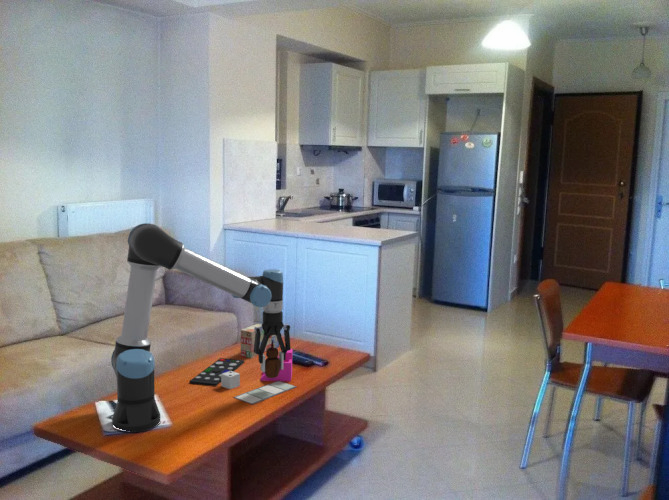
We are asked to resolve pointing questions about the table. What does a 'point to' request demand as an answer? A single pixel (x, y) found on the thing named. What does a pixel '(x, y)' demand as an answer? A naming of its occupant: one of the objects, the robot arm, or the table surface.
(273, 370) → the wooden figurine
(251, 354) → the stack of blocks
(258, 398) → the game mat
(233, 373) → the die
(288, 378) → the bracket
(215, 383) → the remote control
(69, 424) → the table surface
